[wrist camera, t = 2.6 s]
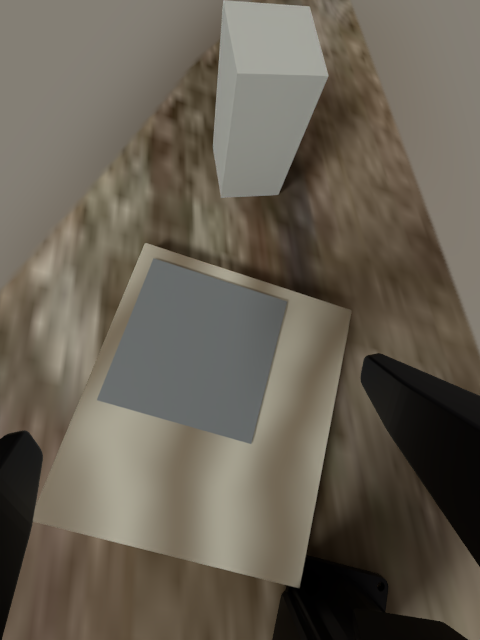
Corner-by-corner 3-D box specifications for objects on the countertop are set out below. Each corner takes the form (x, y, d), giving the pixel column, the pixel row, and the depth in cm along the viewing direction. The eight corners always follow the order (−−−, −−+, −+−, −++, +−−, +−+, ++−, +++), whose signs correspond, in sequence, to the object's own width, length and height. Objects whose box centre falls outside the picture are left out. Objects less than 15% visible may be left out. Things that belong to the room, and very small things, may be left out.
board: (342, 315, 24) (353, 309, 22) (291, 573, 19) (300, 590, 17) (148, 252, 22) (144, 241, 21) (43, 510, 18) (27, 522, 16)
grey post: (278, 194, 25) (328, 75, 16) (221, 197, 25) (237, 73, 15) (268, 146, 26) (309, 6, 17) (212, 147, 26) (223, 0, 16)
